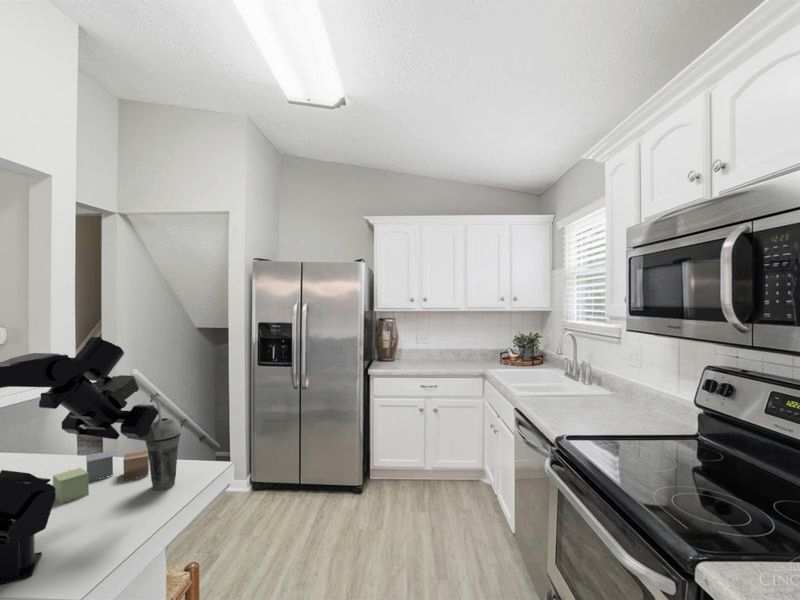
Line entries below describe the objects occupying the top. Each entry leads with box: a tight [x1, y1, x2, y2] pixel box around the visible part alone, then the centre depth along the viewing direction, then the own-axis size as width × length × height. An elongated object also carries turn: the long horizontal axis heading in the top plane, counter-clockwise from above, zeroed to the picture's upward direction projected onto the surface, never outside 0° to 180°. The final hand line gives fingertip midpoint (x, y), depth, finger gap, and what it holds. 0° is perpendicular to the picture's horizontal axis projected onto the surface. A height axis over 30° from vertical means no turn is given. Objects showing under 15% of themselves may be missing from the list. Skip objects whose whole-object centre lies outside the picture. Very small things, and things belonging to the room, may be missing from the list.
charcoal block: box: [86, 450, 114, 482], centre depth 103 cm, size 5×5×5 cm
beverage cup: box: [145, 400, 181, 491], centre depth 96 cm, size 7×7×20 cm
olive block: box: [52, 467, 90, 504], centre depth 92 cm, size 5×5×5 cm
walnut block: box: [123, 449, 150, 481], centre depth 103 cm, size 5×5×5 cm
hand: (135, 438), depth 89 cm, fingers open, 9 cm apart
